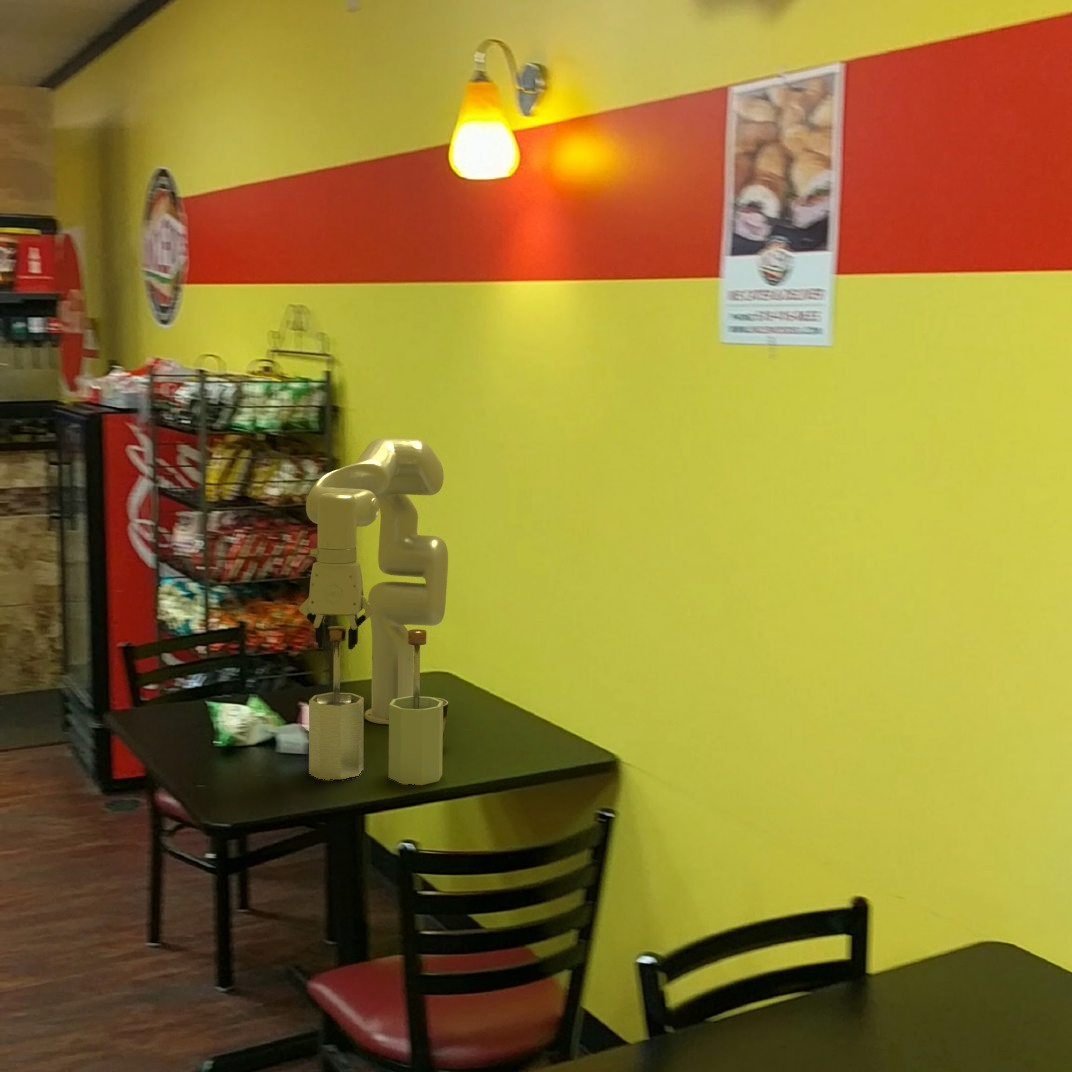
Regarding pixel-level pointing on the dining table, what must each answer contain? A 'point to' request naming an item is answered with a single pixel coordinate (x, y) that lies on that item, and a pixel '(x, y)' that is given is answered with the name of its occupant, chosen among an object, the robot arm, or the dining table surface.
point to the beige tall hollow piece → (336, 736)
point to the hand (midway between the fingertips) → (336, 646)
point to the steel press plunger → (337, 657)
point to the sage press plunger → (416, 662)
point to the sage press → (415, 740)
